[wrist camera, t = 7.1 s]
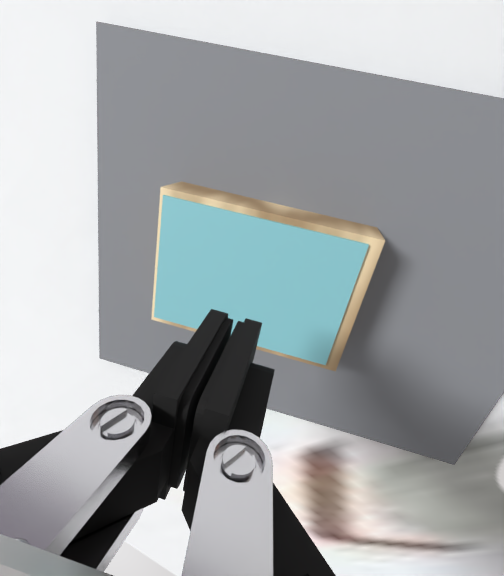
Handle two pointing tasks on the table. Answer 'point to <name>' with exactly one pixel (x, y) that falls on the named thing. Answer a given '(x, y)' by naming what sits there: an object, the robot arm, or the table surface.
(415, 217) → the rubber mat
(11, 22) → the table surface
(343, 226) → the maple tile
